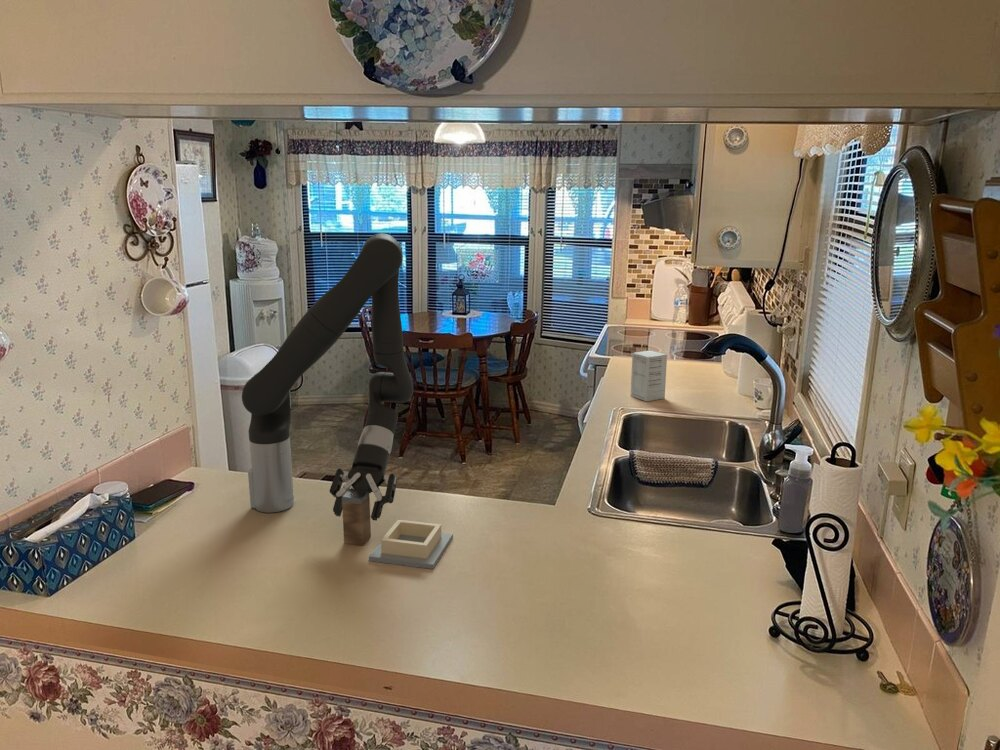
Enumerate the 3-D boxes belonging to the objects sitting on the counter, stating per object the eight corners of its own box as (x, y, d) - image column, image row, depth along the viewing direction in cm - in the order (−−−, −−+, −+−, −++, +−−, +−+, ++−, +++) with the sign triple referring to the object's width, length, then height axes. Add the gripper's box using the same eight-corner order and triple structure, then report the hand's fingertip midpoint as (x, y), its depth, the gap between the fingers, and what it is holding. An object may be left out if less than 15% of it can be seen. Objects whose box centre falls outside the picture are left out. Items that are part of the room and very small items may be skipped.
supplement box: (665, 398, 272) (668, 354, 268) (646, 402, 267) (649, 357, 263) (648, 392, 280) (650, 349, 276) (629, 395, 275) (631, 352, 271)
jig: (368, 560, 152) (368, 543, 151) (393, 531, 165) (392, 514, 164) (433, 569, 149) (432, 551, 148) (452, 538, 162) (452, 521, 161)
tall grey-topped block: (344, 543, 159) (341, 496, 156) (352, 534, 163) (350, 488, 160) (362, 546, 158) (361, 498, 155) (370, 536, 162) (369, 490, 159)
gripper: (339, 439, 165) (318, 507, 157) (399, 445, 161) (381, 514, 153) (350, 454, 171) (331, 520, 163) (407, 459, 168) (391, 526, 160)
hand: (355, 517), depth 158 cm, fingers open, 8 cm apart
